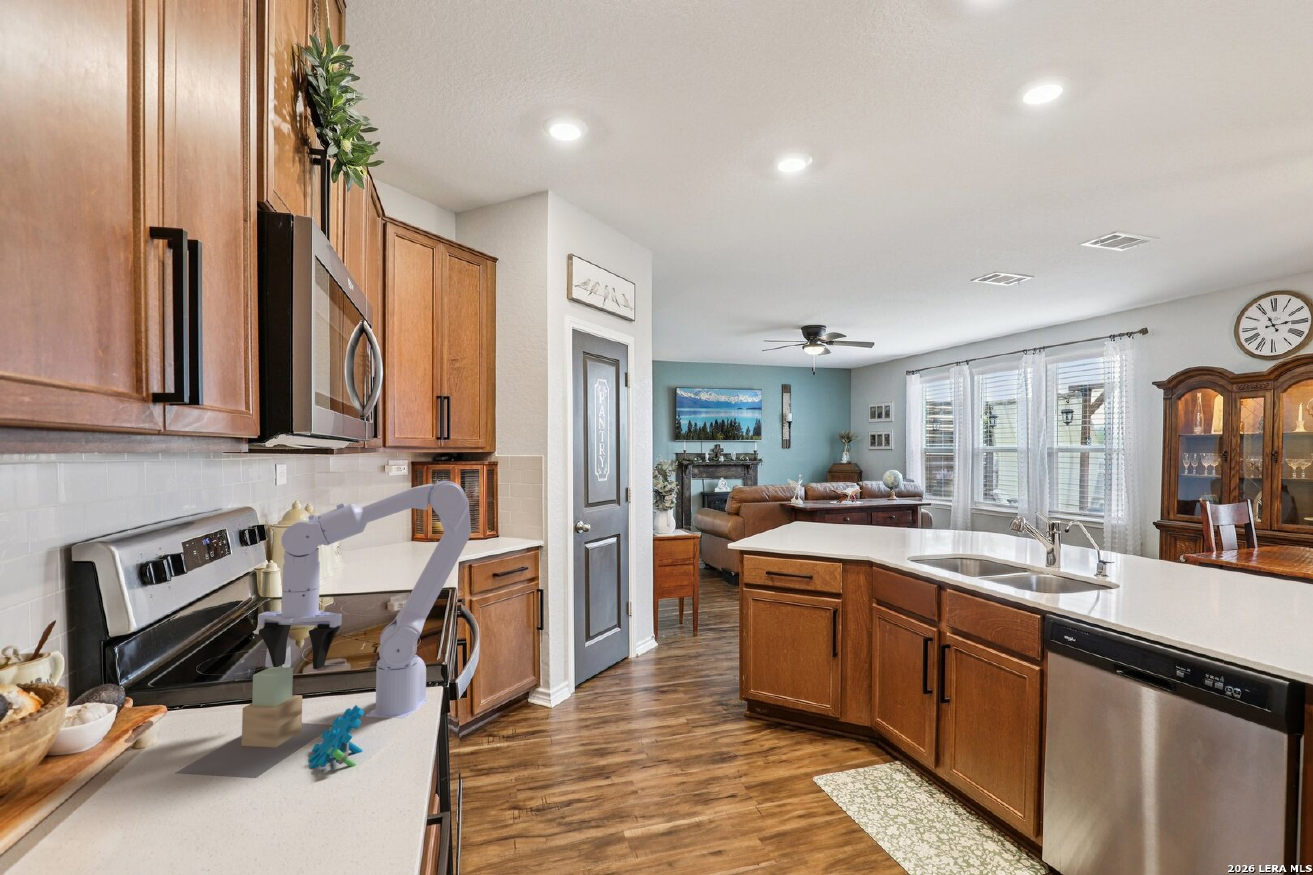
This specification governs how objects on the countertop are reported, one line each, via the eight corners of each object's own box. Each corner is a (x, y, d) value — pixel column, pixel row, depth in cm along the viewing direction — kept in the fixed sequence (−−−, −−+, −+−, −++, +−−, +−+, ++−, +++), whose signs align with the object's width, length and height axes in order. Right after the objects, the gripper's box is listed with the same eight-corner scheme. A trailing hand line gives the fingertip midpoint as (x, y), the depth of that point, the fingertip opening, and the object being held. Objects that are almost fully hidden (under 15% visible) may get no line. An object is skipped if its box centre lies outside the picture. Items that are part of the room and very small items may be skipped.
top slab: (269, 711, 104) (270, 693, 104) (301, 713, 103) (302, 695, 103) (242, 726, 98) (242, 707, 98) (276, 728, 97) (276, 709, 97)
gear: (307, 741, 97) (357, 691, 100) (336, 760, 99) (384, 711, 102) (300, 783, 87) (355, 727, 90) (332, 803, 89) (386, 748, 92)
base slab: (268, 729, 104) (269, 711, 104) (301, 731, 103) (301, 713, 103) (241, 745, 98) (242, 726, 98) (275, 747, 97) (276, 728, 97)
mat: (265, 724, 107) (265, 721, 107) (334, 728, 106) (334, 724, 106) (174, 776, 89) (174, 772, 89) (255, 781, 88) (256, 777, 88)
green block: (270, 696, 103) (271, 666, 103) (292, 697, 102) (293, 667, 103) (252, 705, 99) (253, 674, 99) (274, 706, 98) (275, 675, 99)
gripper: (245, 592, 104) (243, 672, 104) (324, 594, 103) (322, 675, 102) (275, 584, 111) (273, 659, 111) (349, 586, 110) (347, 662, 109)
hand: (298, 666), depth 107 cm, fingers open, 7 cm apart
